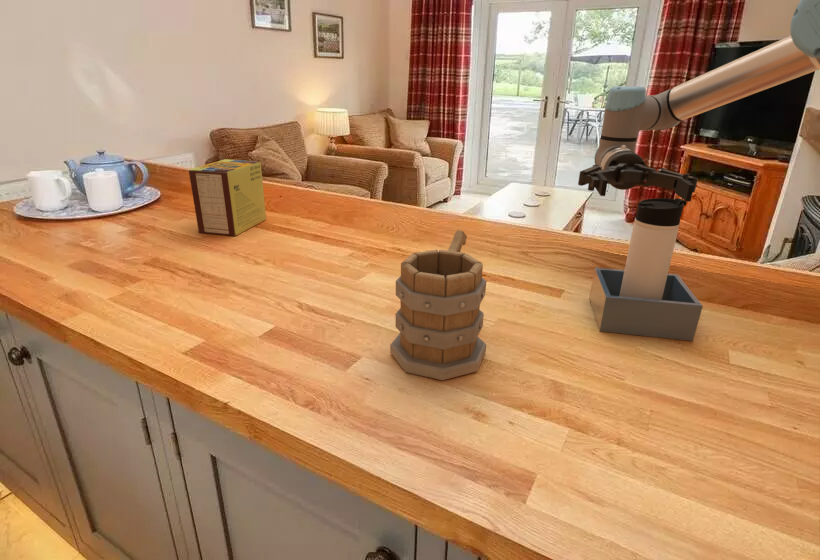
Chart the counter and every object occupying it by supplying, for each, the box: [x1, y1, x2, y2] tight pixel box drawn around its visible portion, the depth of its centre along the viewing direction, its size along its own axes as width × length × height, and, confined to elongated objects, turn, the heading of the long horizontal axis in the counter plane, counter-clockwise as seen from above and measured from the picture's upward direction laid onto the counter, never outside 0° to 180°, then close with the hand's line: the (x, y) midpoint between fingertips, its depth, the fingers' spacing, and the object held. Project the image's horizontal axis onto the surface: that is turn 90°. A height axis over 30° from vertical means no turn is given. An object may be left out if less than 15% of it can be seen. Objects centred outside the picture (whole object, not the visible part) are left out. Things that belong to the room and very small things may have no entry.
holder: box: [588, 267, 703, 342], centre depth 80 cm, size 14×13×6 cm
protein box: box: [188, 158, 267, 237], centre depth 123 cm, size 10×15×16 cm
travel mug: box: [619, 197, 688, 300], centre depth 78 cm, size 6×7×20 cm
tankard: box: [389, 229, 487, 381], centre depth 70 cm, size 20×13×15 cm, turn 160°
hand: (646, 190), depth 83 cm, fingers open, 13 cm apart
